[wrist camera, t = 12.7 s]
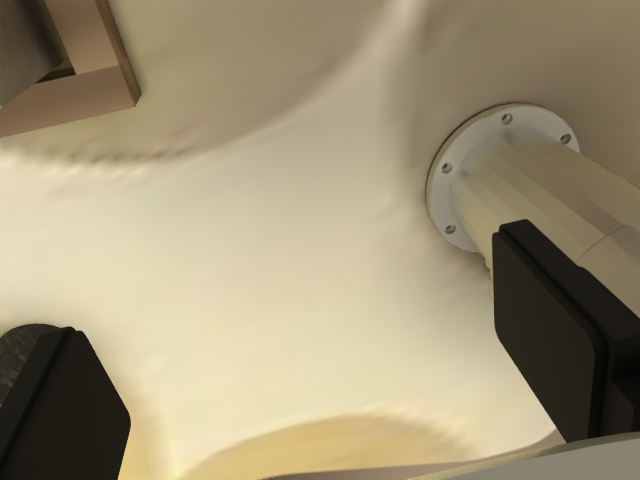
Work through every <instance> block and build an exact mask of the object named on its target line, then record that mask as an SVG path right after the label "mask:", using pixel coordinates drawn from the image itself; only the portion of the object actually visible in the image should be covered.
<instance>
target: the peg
mask: <svg viewBox="0 0 640 480" xmlns="http://www.w3.org/2000/svg"><path fill="white" fill-rule="evenodd" d="M67 58H69V56H68V54H67V51H66V49H65V47H64V44H63V42H62V40H61V37H60V35H59V33H58V30H57V28H56V26H55V23H54V21H53V19H52V16H51V14H50V12H49V9H48V7H47V4H46V2H45V0H0V108H3V107H4V106H5V105H7V104H8V103H9V102H11V101H12V100H13V99H15V98H16V97H17V96H19V95H20V94H21V93H23V92H24V91H25V90H27V89H28V88H29V87H31V86H32V85H33V84H34V83H36V82H37V81H38V80H40V79H41V78H42V77H44V76H45V75H46V74H48V73H49V72H50V71H52V70H53V69H54V68H56V67H57V66H58V65H60V64H61V63H62V62H63V61H65V60H66V59H67Z"/></svg>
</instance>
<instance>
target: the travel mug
mask: <svg viewBox="0 0 640 480" xmlns="http://www.w3.org/2000/svg"><path fill="white" fill-rule="evenodd" d="M56 329H60V328H57V327H54V326H50V325H43V324H30V325H24V326H20V327H17V328H14V329H12V330H10V331H8V332H7V333H6V334H4V335H3V336H2V337H1V338H0V407H1V405H2V403H3V402H4V400H5V398H6V396H7V394H8V393H9V391H10V389H11V387H12V385H13V384H14V382H15V380H16V378H17V376H18V374H19V373H20V371H21V369H22V367H23V365H24V364H25V362H26V360H27V358H28V356H29V355H30V353H31V351H32V349H33V347H34V346H35V344H36V342H37V340H38V338H39V337H40V335H41V334H42V333H44V332H47V331H51V330H56Z"/></svg>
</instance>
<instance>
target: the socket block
mask: <svg viewBox="0 0 640 480" xmlns="http://www.w3.org/2000/svg"><path fill="white" fill-rule="evenodd" d="M45 2H46V4H47V7H48V9H49V12H50V14H51V16H52V19H53V21H54V23H55V26H56V28H57V30H58V33H59V35H60V37H61V40H62V42H63V44H64V47H65V49H66V51H67V54H68V56H69V58H70V61H71V63H72V65H73V68H69V69H64V70H60V71H56V72H51V73H48V74H46V75H45V76H44V77H42V78H41V79H40V80H38V81H37V82H36V83H34V84H33V85H32V86H31V87H29V88H28V89H27V90H25V91H24V92H23V93H21V94H20V95H19V96H17V97H16V98H15V99H13V100H12V101H11V102H9V103H8V104H7V105H5V106H4V107H3V108H0V138H2V137H6V136H10V135H15V134H19V133H23V132H28V131H32V130H36V129H41V128H45V127H49V126H54V125H58V124H62V123H67V122H71V121H75V120H80V119H84V118H88V117H93V116H97V115H101V114H106V113H110V112H114V111H119V110H123V109H127V108H132V107H135V106H136V104H137V102H138V100H139V98H140V96H141V92H140V89H139V86H138V84H137V81H136V78H135V75H134V73H133V70H132V67H131V65H130V62H129V59H128V56H127V54H126V51H125V48H124V46H123V43H122V40H121V37H120V35H119V32H118V29H117V27H116V24H115V21H114V18H113V16H112V13H111V10H110V8H109V5H108V2H107V0H45Z"/></svg>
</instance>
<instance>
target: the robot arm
mask: <svg viewBox="0 0 640 480" xmlns="http://www.w3.org/2000/svg"><path fill="white" fill-rule="evenodd" d="M503 116H504V117H503ZM502 117H503V118H502ZM444 164H445V165H444ZM443 165H444V166H443ZM442 166H443V167H442ZM426 202H427V207H428V212H429V214H430V217H431V219H432V221H433V223H434V225H435V226H436V227H437V229H438V230H439V232H440V233H441V234H442V235H443V236H444V237H445V238H446V239H447V240H448V241H449V242H451V243H452V244H454V245H455V246H457V247H459V248H461V249H464V250H467V251H470V252H477V253H481V254H482V255H483V256H484V257H485V264H486V266H487V267H488V268H489V269H490V276H489V294H490V296H491V297H492V298H494V321H495V330H496V333H497V336H498V338H499V340H500V342H501V343H502V345H503V346H504V348H505V350H506V351H507V353H508V354H509V356H510V357H511V359H512V360H513V362H514V363H515V365H516V366H517V368H518V369H519V371H520V372H521V374H522V375H523V377H524V379H525V380H526V382H527V383H528V385H529V386H530V388H531V389H532V391H533V392H534V394H535V395H536V397H537V398H538V400H539V401H540V403H541V404H542V406H543V408H544V409H545V411H546V412H547V414H548V415H549V417H550V418H551V420H552V421H553V423H554V424H555V426H556V427H557V429H558V430H559V432H560V433H561V435H562V436H563V438H564V439H565V441H566V442H567V443H566V444H561V445H557V446H552V447H548V448H542V449H538V450H533V451H529V452H524V453H519V454H515V455H510V456H506V457H501V458H497V459H492V460H489V461H484V462H480V463H475V464H471V465H467V466H463V467H458V468H454V469H450V470H445V471H441V472H437V473H432V474H428V475H424V476H420V477H415V478H411V479H407V480H640V188H638V187H636V186H634V185H633V184H631V183H629V182H628V181H626V180H624V179H622V178H621V177H619V176H617V175H616V174H614V173H612V172H610V171H609V170H607V169H605V168H604V167H602V166H600V165H598V164H597V163H595V162H593V161H592V160H590V159H588V158H586V157H585V156H583V155H581V153H580V148H579V144H578V140H577V138H576V136H575V134H574V132H573V130H572V128H571V127H570V126H569V125H568V124H567V123H566V122H565V120H564V119H562V118H561V117H559V116H558V115H556V114H555V113H553V112H551V111H549V110H547V109H545V108H543V107H540V106H536V105H532V104H526V103H512V104H507V105H502V106H497V107H494V108H492V109H489V110H487V111H484V112H482V113H480V114H478V115H477V116H475V117H473V118H472V119H470V120H468V121H467V122H466V123H465V124H463V125H462V126H461V127H460V128H459V129H457V130H456V131H455V132H454V133H453V134H452V135H451V137H450V138H449V139H448V140H447V141H446V142H445V143H444V145H443V146H442V148H441V150H440V151H439V153H438V154H437V156H436V158H435V160H434V162H433V165H432V167H431V170H430V172H429V177H428V181H427V186H426ZM130 427H131V420H130V415H129V412H128V410H127V409H126V407H125V405H124V403H123V401H122V400H121V398H120V396H119V394H118V392H117V391H116V389H115V387H114V385H113V383H112V382H111V380H110V378H109V376H108V375H107V373H106V371H105V369H104V367H103V366H102V364H101V362H100V360H99V358H98V357H97V355H96V353H95V351H94V349H93V348H92V346H91V344H90V342H89V340H88V339H87V337H86V335H85V334H84V333H83V332H82V331H76V330H75V329H74V328H73V327H69V326H68V327H64V328H60V329H56V330H51V331H47V332H44V333H42V334H41V335H40V337H39V338H38V340H37V342H36V344H35V346H34V347H33V349H32V351H31V353H30V355H29V356H28V358H27V360H26V362H25V364H24V365H23V367H22V369H21V371H20V373H19V374H18V376H17V378H16V380H15V382H14V384H13V385H12V387H11V389H10V391H9V393H8V394H7V396H6V398H5V400H4V402H3V403H2V405H1V407H0V480H118V476H119V472H120V468H121V464H122V460H123V456H124V452H125V448H126V444H127V440H128V436H129V432H130Z"/></svg>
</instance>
